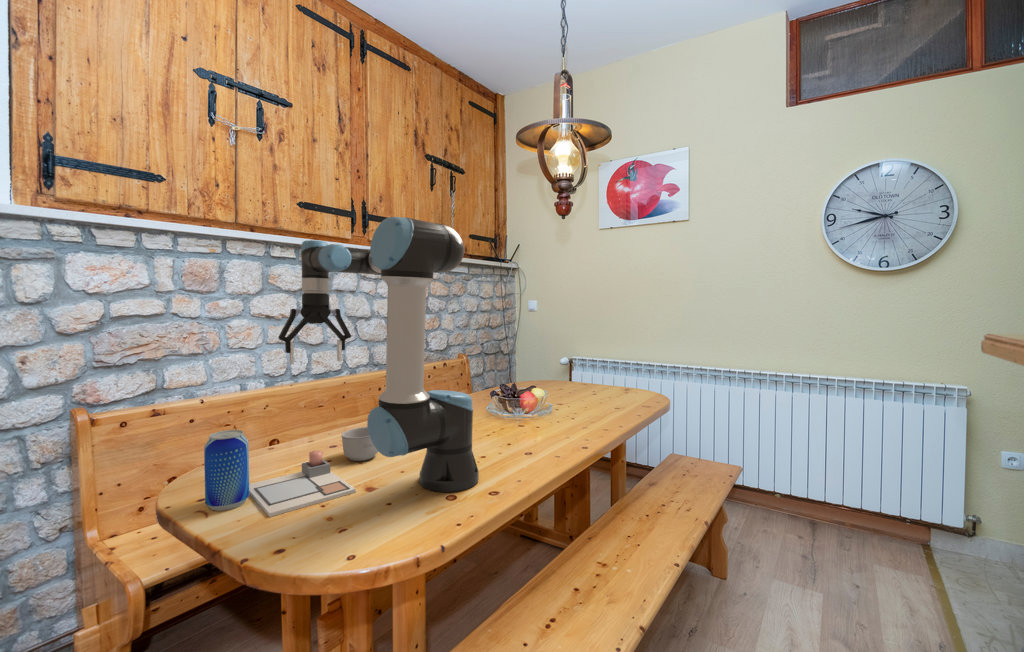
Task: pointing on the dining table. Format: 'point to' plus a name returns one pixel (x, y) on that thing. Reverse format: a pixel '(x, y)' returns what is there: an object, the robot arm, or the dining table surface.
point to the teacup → (358, 444)
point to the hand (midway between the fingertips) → (316, 362)
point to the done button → (315, 458)
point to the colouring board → (299, 489)
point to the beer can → (226, 470)
